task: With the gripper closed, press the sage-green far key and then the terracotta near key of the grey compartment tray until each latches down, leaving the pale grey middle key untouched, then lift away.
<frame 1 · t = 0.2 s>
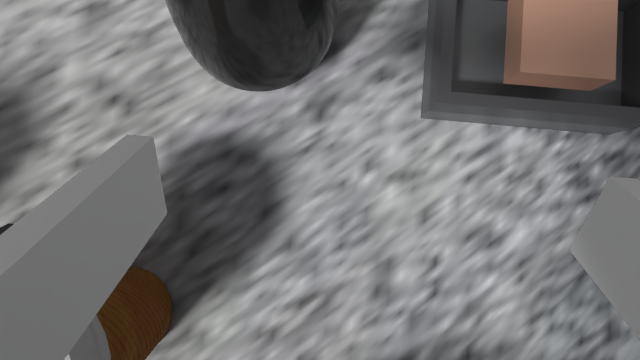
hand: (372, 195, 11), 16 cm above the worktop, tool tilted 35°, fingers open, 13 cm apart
disposable coffee cup: (130, 309, 27), on the worktop
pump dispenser: (268, 41, 28), on the worktop
key terracotta: (558, 38, 23), point 5 cm above the worktop, slide at 0.0 cm
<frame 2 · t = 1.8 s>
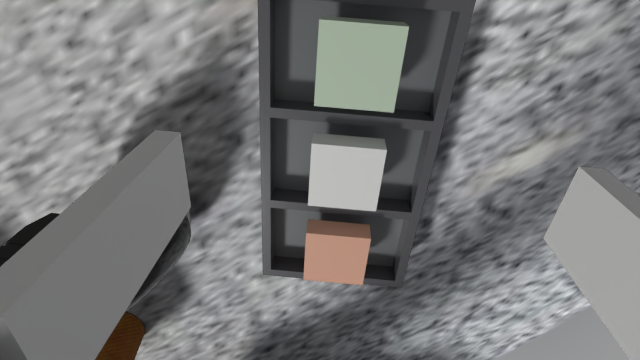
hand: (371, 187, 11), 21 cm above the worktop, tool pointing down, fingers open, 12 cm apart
key grey: (345, 172, 29), point 5 cm above the worktop, slide at 0.0 cm
grey compartment tray: (345, 147, 33), on the worktop
disposable coffee cup: (122, 324, 49), on the worktop
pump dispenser: (155, 199, 38), on the worktop
key terracotta: (335, 252, 34), point 5 cm above the worktop, slide at 0.0 cm
key sage: (358, 65, 25), point 5 cm above the worktop, slide at 0.0 cm
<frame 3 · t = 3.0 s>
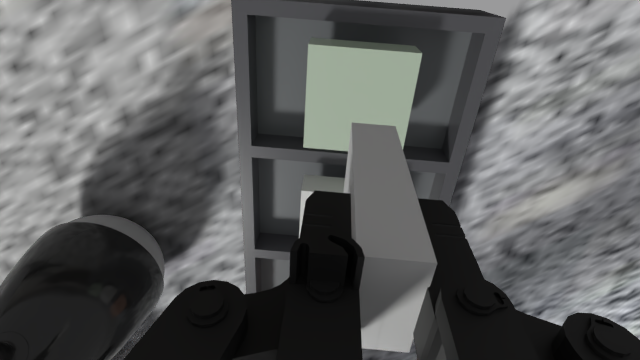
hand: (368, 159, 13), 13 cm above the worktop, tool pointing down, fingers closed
key grey: (342, 221, 24), point 5 cm above the worktop, slide at 0.0 cm
grey compartment tray: (342, 184, 28), on the worktop
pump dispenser: (125, 240, 33), on the worktop
key sage: (357, 98, 20), point 5 cm above the worktop, slide at 0.0 cm
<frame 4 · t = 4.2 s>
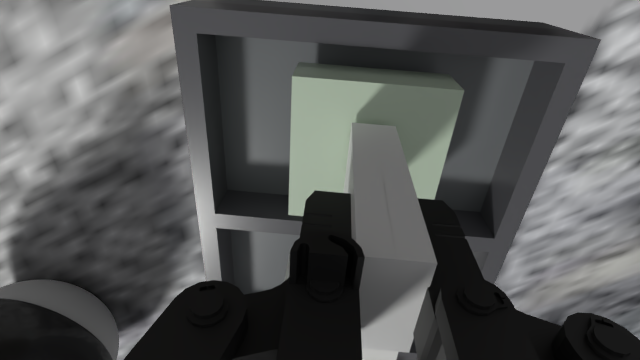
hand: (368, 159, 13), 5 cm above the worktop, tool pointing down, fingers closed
key grey: (343, 311, 18), point 5 cm above the worktop, slide at 0.0 cm
grey compartment tray: (343, 246, 22), on the worktop
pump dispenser: (72, 304, 26), on the worktop
key sage: (365, 147, 14), point 4 cm above the worktop, slide at 0.8 cm, touching gripper
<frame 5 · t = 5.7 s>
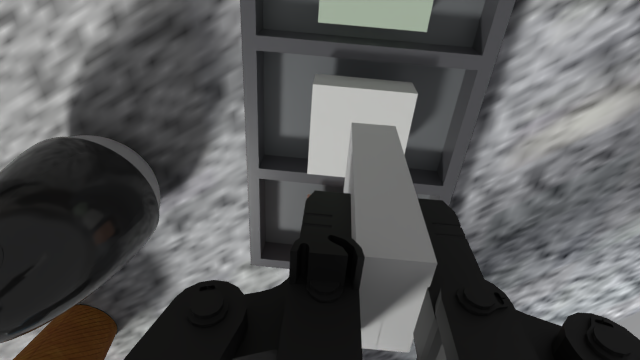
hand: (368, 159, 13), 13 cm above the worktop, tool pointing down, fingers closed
key grey: (358, 129, 22), point 5 cm above the worktop, slide at 0.0 cm
grey compartment tray: (356, 101, 26), on the worktop
disposable coffee cup: (91, 320, 42), on the worktop
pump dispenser: (118, 171, 30), on the worktop
key terracotta: (343, 237, 26), point 5 cm above the worktop, slide at 0.0 cm
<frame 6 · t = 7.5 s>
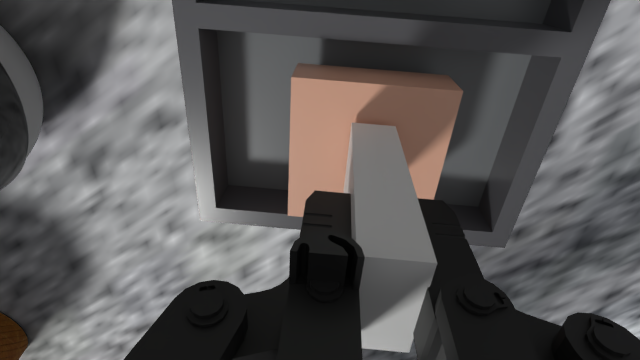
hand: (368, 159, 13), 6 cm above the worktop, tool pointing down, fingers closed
key terracotta: (364, 148, 14), point 4 cm above the worktop, slide at 0.5 cm, touching gripper
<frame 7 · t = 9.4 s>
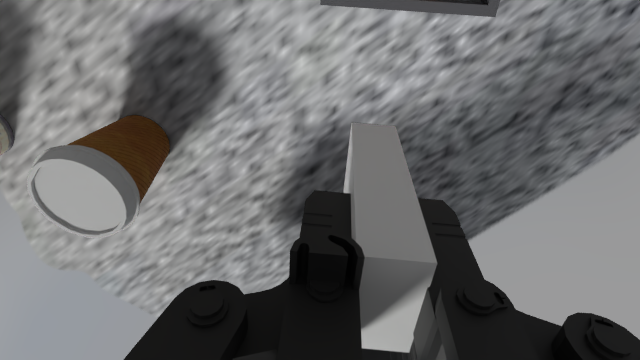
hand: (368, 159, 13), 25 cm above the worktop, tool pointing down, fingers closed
disposable coffee cup: (143, 139, 42), on the worktop
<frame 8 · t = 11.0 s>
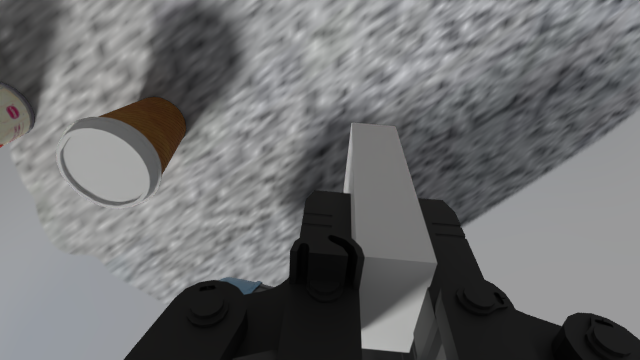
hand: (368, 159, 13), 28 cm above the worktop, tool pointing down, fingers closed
aerosol can: (6, 108, 44), on the worktop
disposable coffee cup: (160, 121, 44), on the worktop
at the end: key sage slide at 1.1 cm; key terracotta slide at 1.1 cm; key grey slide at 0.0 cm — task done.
